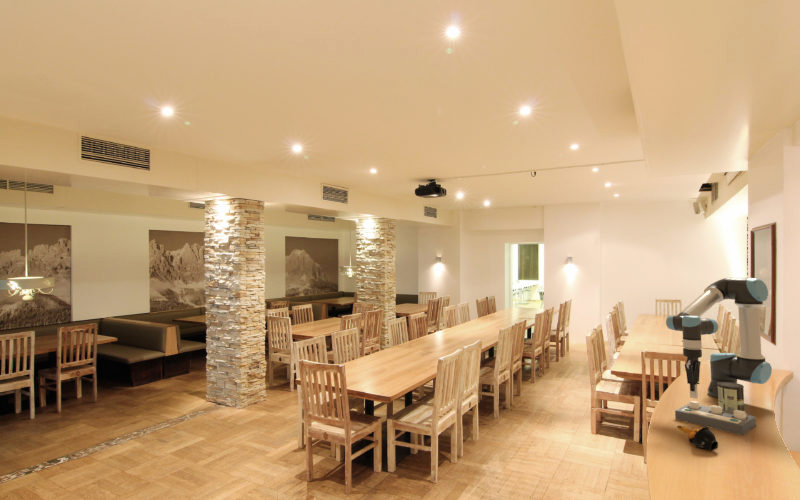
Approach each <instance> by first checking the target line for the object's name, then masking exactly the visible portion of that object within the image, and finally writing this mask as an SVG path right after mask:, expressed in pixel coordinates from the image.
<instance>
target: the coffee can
mask: <svg viewBox="0 0 800 500" xmlns="http://www.w3.org/2000/svg"><path fill="white" fill-rule="evenodd" d="M717 385H718V398H717V399H718V406H720V407H722V410H727V411H732V412H734V410H740V411H744V412H745V395H744V385H743V384H740V383H738V382H737V383H732V382H718V383H717Z"/></svg>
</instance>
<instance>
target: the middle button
mask: <svg viewBox="0 0 800 500" xmlns="http://www.w3.org/2000/svg"><path fill="white" fill-rule="evenodd" d="M709 407H710V409H711V413H715V414H719V415H721V414H722V407H720V406H719V405H714V404H712V405H709Z"/></svg>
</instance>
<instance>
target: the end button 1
mask: <svg viewBox="0 0 800 500" xmlns="http://www.w3.org/2000/svg"><path fill="white" fill-rule="evenodd" d="M688 404H689V408H692V409H697V410H699V409H700V405H701V404H700V402H699V401H698V400H697V401H696V400H689V401H688Z"/></svg>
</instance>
